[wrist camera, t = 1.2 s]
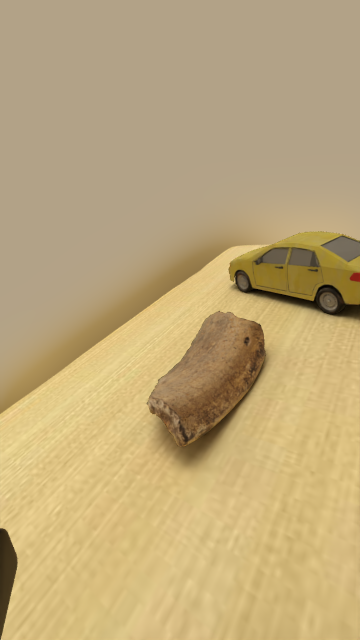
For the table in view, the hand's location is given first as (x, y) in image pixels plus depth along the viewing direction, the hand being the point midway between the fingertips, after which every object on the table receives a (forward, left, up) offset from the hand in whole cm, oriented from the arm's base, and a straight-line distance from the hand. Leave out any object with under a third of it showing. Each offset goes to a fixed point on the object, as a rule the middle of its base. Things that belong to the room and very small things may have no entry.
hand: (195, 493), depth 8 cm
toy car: (+50, -11, -17) cm, 54 cm away
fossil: (+26, +4, -17) cm, 31 cm away
